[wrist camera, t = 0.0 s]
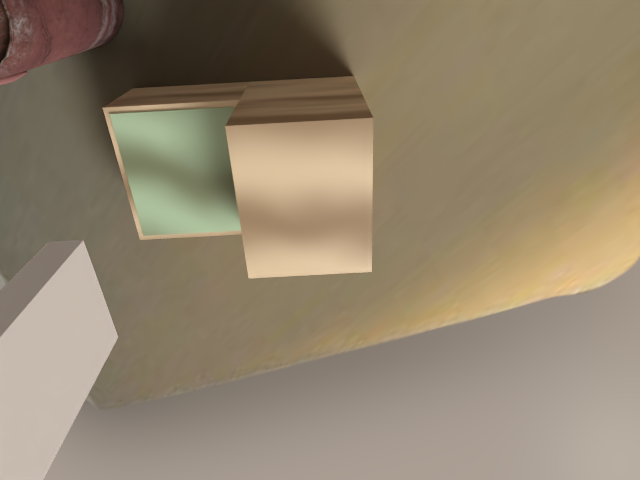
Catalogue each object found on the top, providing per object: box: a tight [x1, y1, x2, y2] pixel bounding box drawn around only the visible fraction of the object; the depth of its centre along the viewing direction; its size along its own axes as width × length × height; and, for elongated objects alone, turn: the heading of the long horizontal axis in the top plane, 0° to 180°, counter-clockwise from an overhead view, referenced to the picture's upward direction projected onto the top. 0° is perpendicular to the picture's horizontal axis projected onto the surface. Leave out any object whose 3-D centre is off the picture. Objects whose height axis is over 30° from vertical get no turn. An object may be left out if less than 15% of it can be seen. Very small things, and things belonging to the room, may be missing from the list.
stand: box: [103, 76, 373, 278], centre depth 32 cm, size 10×17×12 cm, turn 93°
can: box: [0, 0, 124, 85], centre depth 26 cm, size 6×6×14 cm
